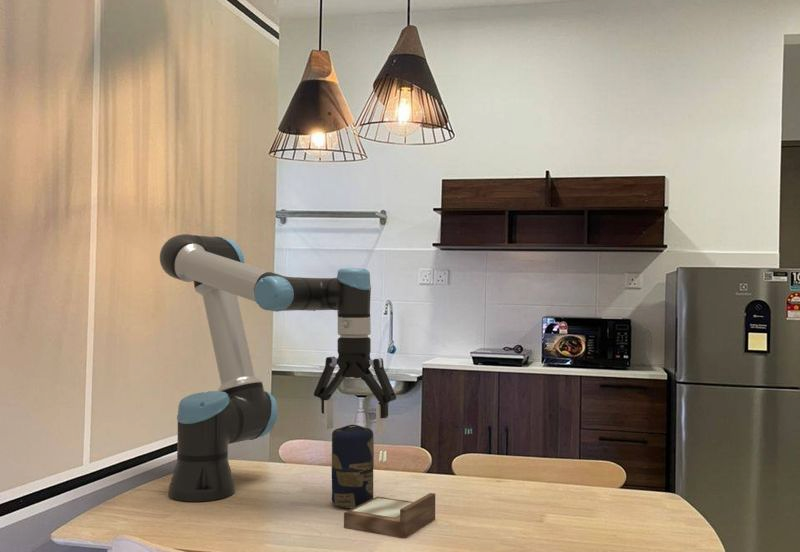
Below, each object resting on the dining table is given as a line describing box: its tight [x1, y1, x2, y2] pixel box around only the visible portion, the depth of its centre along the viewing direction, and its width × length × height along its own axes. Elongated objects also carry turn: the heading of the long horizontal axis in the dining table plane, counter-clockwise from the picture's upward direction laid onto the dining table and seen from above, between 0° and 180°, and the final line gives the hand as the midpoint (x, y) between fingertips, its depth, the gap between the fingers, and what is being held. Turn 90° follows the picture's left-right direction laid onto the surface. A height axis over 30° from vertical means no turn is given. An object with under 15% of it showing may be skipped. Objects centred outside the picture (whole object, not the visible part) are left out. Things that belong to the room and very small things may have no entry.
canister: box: [331, 424, 375, 509], centre depth 167 cm, size 10×10×18 cm
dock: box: [343, 492, 436, 539], centre depth 153 cm, size 14×14×5 cm
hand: (354, 430), depth 167 cm, fingers open, 13 cm apart
